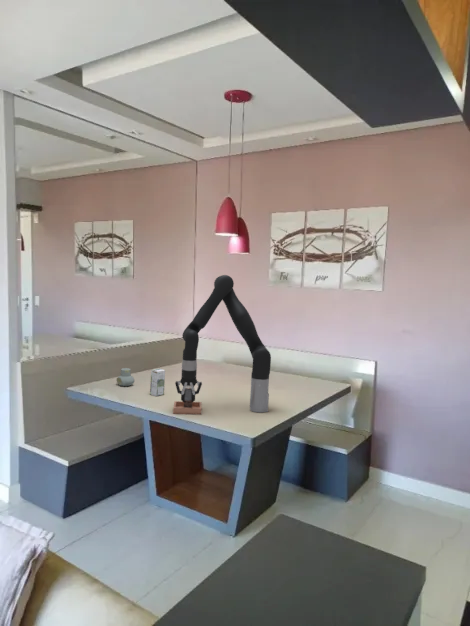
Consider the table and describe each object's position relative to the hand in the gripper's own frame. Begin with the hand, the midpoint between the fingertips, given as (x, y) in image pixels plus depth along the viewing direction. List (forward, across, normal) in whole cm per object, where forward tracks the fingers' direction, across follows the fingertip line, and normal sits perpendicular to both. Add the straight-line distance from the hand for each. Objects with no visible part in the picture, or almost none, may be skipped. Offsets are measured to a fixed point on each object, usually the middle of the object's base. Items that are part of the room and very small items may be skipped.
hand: (187, 401), depth 238 cm
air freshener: (+5, +39, -49) cm, 63 cm away
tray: (+5, 0, 0) cm, 5 cm away
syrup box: (+5, +18, -29) cm, 34 cm away
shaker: (+3, 0, 0) cm, 3 cm away
